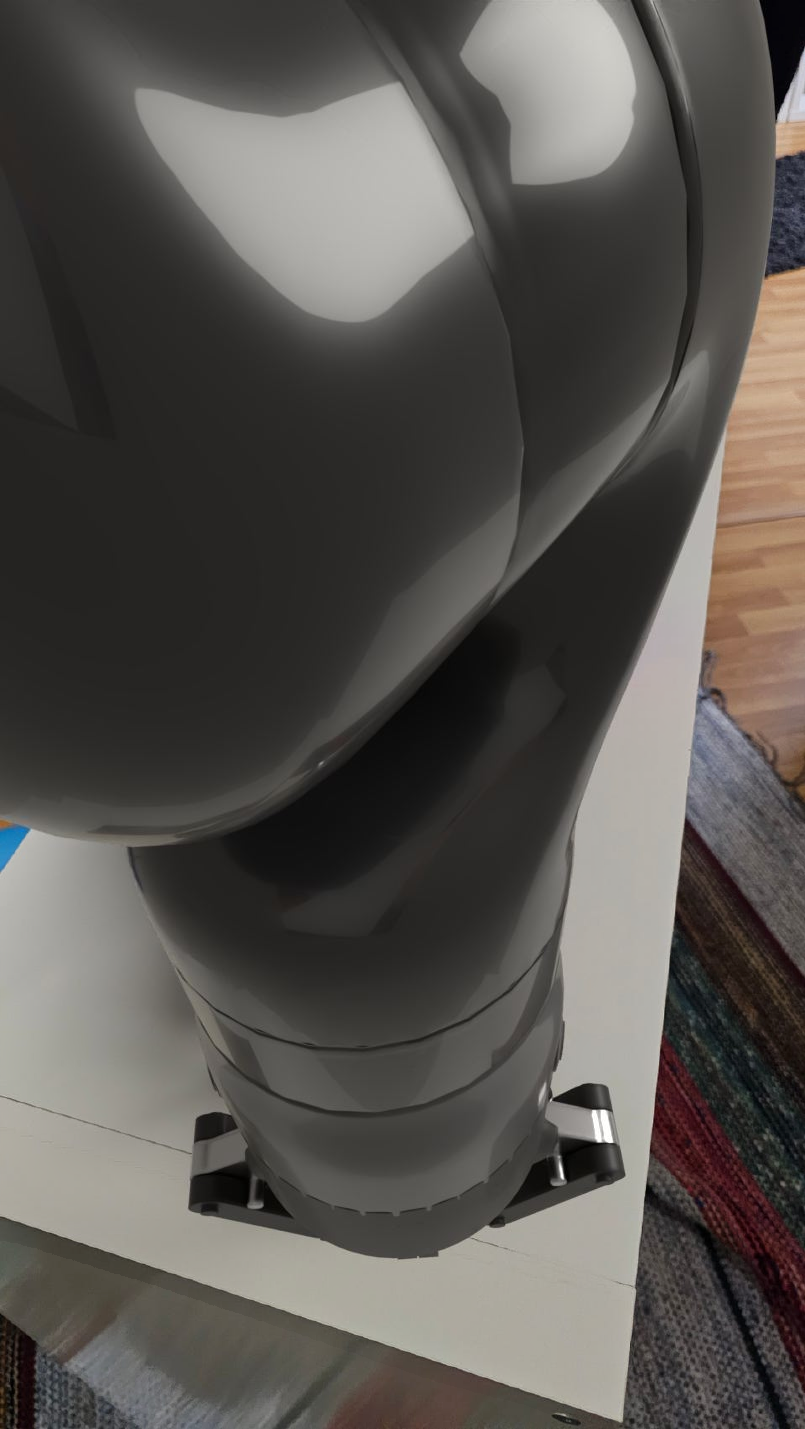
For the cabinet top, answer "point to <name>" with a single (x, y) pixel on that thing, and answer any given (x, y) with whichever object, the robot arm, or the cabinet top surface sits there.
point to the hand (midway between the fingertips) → (415, 1226)
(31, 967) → the cabinet top surface
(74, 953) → the cabinet top surface
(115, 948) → the cabinet top surface
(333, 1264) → the cabinet top surface
